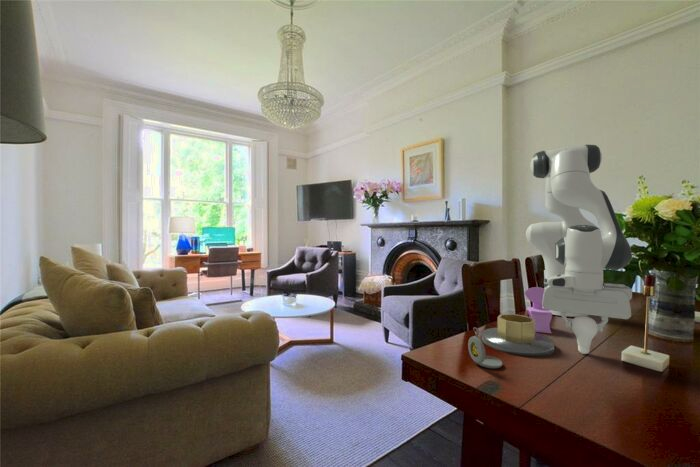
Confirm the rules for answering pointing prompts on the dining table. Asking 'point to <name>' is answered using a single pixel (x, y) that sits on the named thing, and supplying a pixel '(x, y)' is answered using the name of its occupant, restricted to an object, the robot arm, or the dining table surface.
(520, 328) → the lamp base
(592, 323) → the lightbulb
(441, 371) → the dining table surface
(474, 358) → the pocket watch
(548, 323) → the toy chair
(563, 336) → the dining table surface
